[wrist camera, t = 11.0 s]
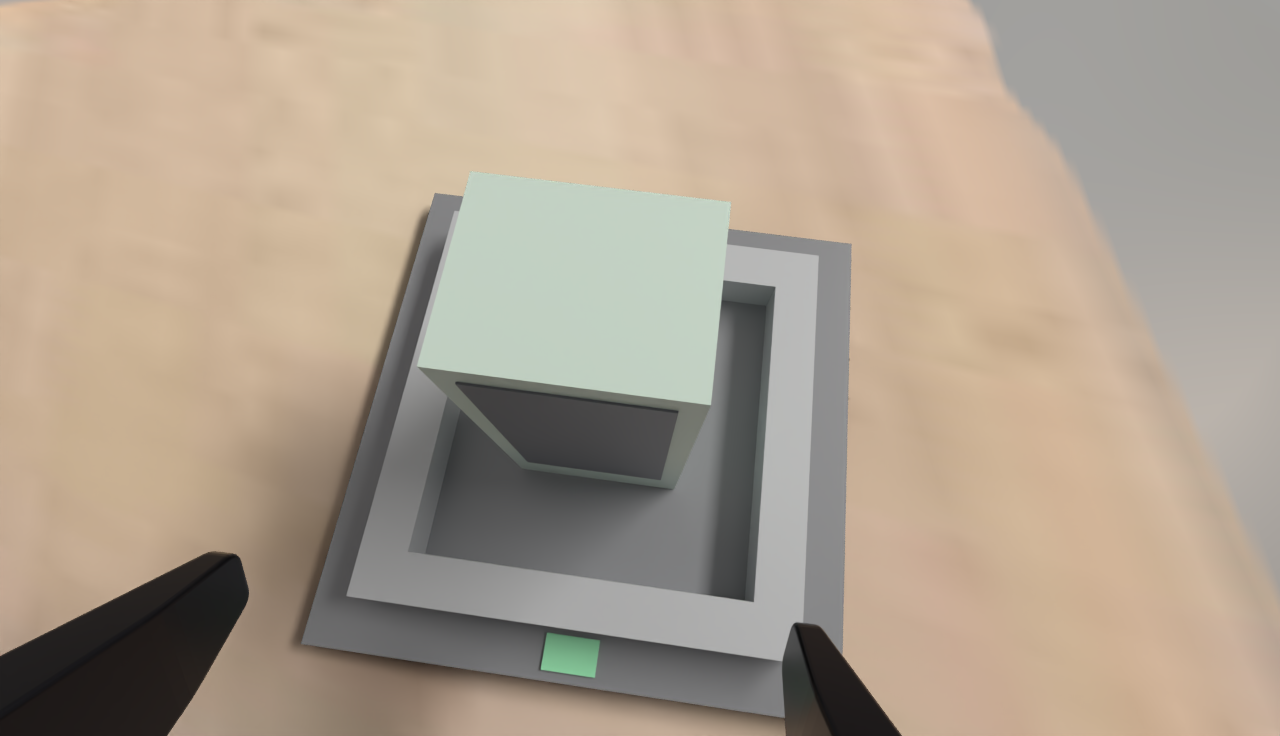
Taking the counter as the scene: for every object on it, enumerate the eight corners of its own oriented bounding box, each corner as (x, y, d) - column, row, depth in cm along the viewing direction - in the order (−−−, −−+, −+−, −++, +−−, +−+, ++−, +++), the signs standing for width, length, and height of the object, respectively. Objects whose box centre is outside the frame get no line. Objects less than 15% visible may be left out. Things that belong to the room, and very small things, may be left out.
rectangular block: (673, 491, 19) (711, 407, 10) (521, 470, 20) (415, 369, 10) (687, 373, 21) (730, 202, 11) (545, 355, 21) (470, 170, 11)
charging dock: (832, 720, 18) (859, 740, 16) (314, 641, 19) (272, 649, 16) (844, 254, 23) (865, 221, 21) (441, 205, 24) (421, 168, 22)
